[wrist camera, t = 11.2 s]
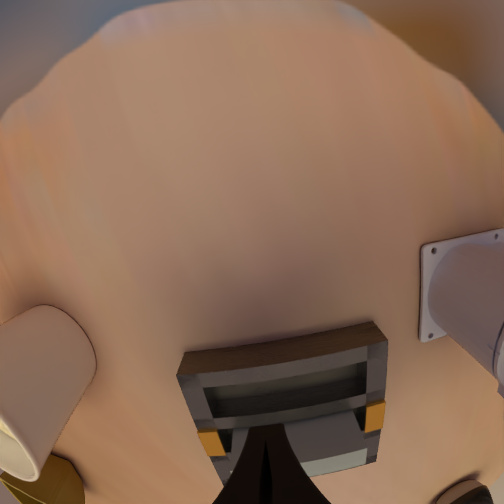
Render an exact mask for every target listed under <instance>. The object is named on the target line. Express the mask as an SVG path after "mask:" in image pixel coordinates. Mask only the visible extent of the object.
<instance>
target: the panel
mask: <svg viewBox="0 0 504 504" xmlns="http://www.w3.org/2000/svg"><path fill="white" fill-rule="evenodd" d="M281 423H282V424H284V426H285V431H286V435H287V438H288V440H289V443H290V445H291V447H292V449H293V451H294V453H295V455H296V457H297V459H298V461H299V462H300V464H301V466H302V467H303V469H304V470H305V472H306V473H307V475H308V476H309V477H311V476H316V475H321V474H326V473H331V472H336V471H340V470H344V469H348V468H352V467H356V466H360V465H363V464H365V463H366V455H367V446H366V443H365V441H364V438H363V436H362V433H361V430H360V428H359V425H358V423H357V420H356V418H355V415H354V413H353V410H352V409H348V410H344V411H340V412H335V413H331V414H326V415H321V416H316V417H311V418H306V419H300V420H294V421H288V422H281ZM275 424H279V423H275ZM267 425H271V424H267ZM259 426H264V425H259ZM250 427H255V426H250ZM250 427H240V428H233V437H232V450H231V463H230V472H231V473H232V472H233V470H234V468H235V466H236V463H237V461H238V459H239V457H240V454H241V452H242V449H243V447H244V444H245V441H246V438H247V434H248V430H249V428H250Z"/></svg>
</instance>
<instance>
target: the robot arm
mask: <svg viewBox="0 0 504 504" xmlns="http://www.w3.org/2000/svg"><path fill="white" fill-rule="evenodd" d="M494 237H495V238H494ZM432 248H434V251H433V253H431V250H432ZM430 333H431V335H430V336H428V335H429V334H430ZM445 335H449V336H450V337H452V338H453V339H454V340H455V341H456V342H457V343H458V344H459V345H461V346H462V347H463V348H464V349H465V350H466V351H467V352H468V353H469V354H470V355H471V356H473V357H474V358H475V359H476V360H477V361H478V362H479V363H480V364H481V365H482V366H483V367H484V368H485V369H486V370H487V371H489V372H490V373H491V374H492V375H493V376H494V377H495V378H496V379H497V380H498V382H499V387H498V391H497V392H498V393H499V394H500V395H501V396H502V397H503V398H504V229H502V228H500V229H495V230H491V231H486V232H482V233H477V234H473V235H468V236H463V237H459V238H454V239H449V240H444V241H439V242H435V243H430V244H425V245H424V246H423V247H422V249H421V307H420V326H419V340H420V341H421V342H423V343H424V342H428V341H431V340H434V339H437V338H440V337H443V336H445ZM212 504H331V503H330V502H329V501H328V500H327V499H326V498H325V496H324V495H323V494H322V493H321V492H320V491H319V489H318V488H317V487H316V486H315V485H314V483H313V482H312V481H311V479H310V478H309V476H308V475H307V473H306V472H305V470H304V469H303V467H302V466H301V464H300V462H299V461H298V459H297V457H296V455H295V453H294V451H293V449H292V447H291V445H290V443H289V440H288V438H287V435H286V431H285V426H284V424H282V423H279V424H271V425H264V426H255V427H250V428H249V430H248V434H247V438H246V441H245V444H244V447H243V449H242V452H241V454H240V457H239V459H238V461H237V463H236V466H235V468H234V470H233V472H232V473H231V475H230V477H229V479H228V481H227V483H226V484H225V486H224V487H223V489H222V491H221V492H220V494H219V495H218V497H217V498H216V499H215V501H214V502H213V503H212Z"/></svg>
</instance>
